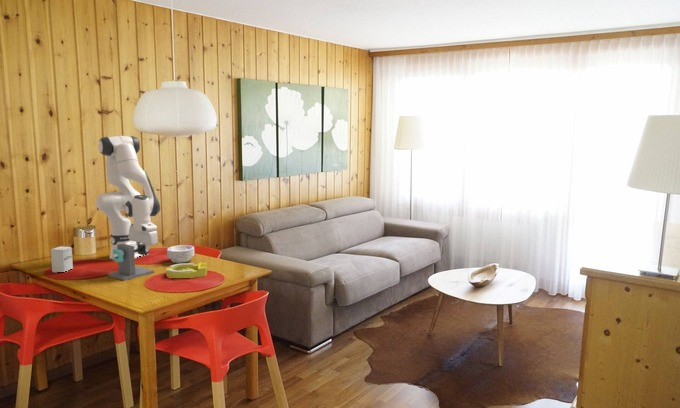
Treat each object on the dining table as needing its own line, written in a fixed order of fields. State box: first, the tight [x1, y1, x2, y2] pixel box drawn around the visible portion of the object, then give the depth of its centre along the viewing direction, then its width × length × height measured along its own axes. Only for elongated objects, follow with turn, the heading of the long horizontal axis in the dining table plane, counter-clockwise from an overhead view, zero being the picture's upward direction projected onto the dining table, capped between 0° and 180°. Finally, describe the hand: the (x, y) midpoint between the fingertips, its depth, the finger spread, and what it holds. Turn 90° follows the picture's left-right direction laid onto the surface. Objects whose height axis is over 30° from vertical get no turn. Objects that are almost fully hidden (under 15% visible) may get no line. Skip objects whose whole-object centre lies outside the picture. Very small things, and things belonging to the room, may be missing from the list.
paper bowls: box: [166, 244, 195, 264], centre depth 310 cm, size 15×15×8 cm
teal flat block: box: [112, 249, 124, 263], centre depth 276 cm, size 2×6×6 cm, turn 56°
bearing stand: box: [107, 244, 155, 281], centre depth 282 cm, size 18×14×16 cm
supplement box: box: [50, 245, 74, 273], centre depth 286 cm, size 7×7×13 cm
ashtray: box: [165, 262, 208, 279], centre depth 284 cm, size 16×21×5 cm
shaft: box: [112, 243, 150, 257], centre depth 282 cm, size 20×4×5 cm, turn 146°
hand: (143, 250), depth 288 cm, fingers closed on shaft, 4 cm apart
